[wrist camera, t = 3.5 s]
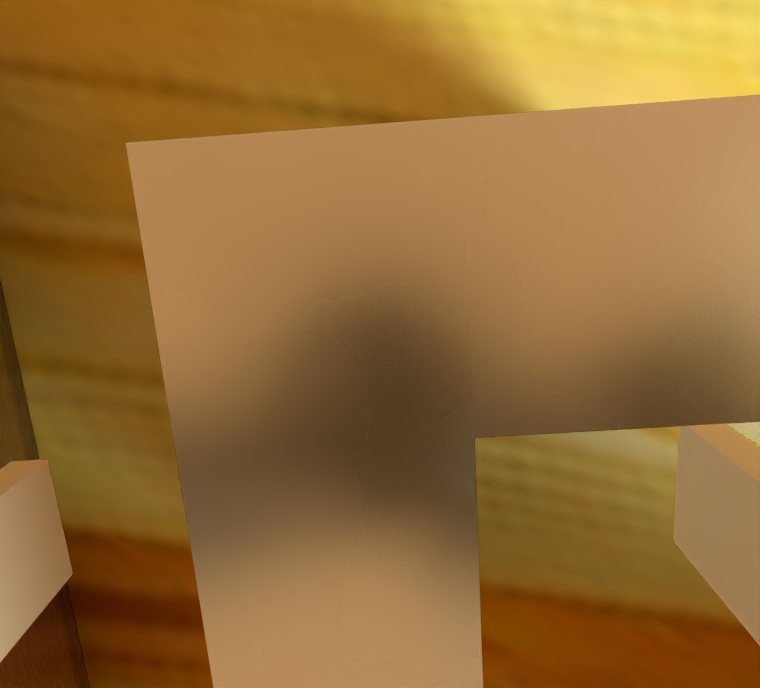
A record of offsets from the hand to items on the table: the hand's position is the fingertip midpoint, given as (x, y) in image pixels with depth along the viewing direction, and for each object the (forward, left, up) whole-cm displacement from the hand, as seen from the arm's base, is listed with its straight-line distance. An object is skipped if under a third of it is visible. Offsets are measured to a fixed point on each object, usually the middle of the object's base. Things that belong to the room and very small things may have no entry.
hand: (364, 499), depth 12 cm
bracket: (-3, 0, -6) cm, 7 cm away
